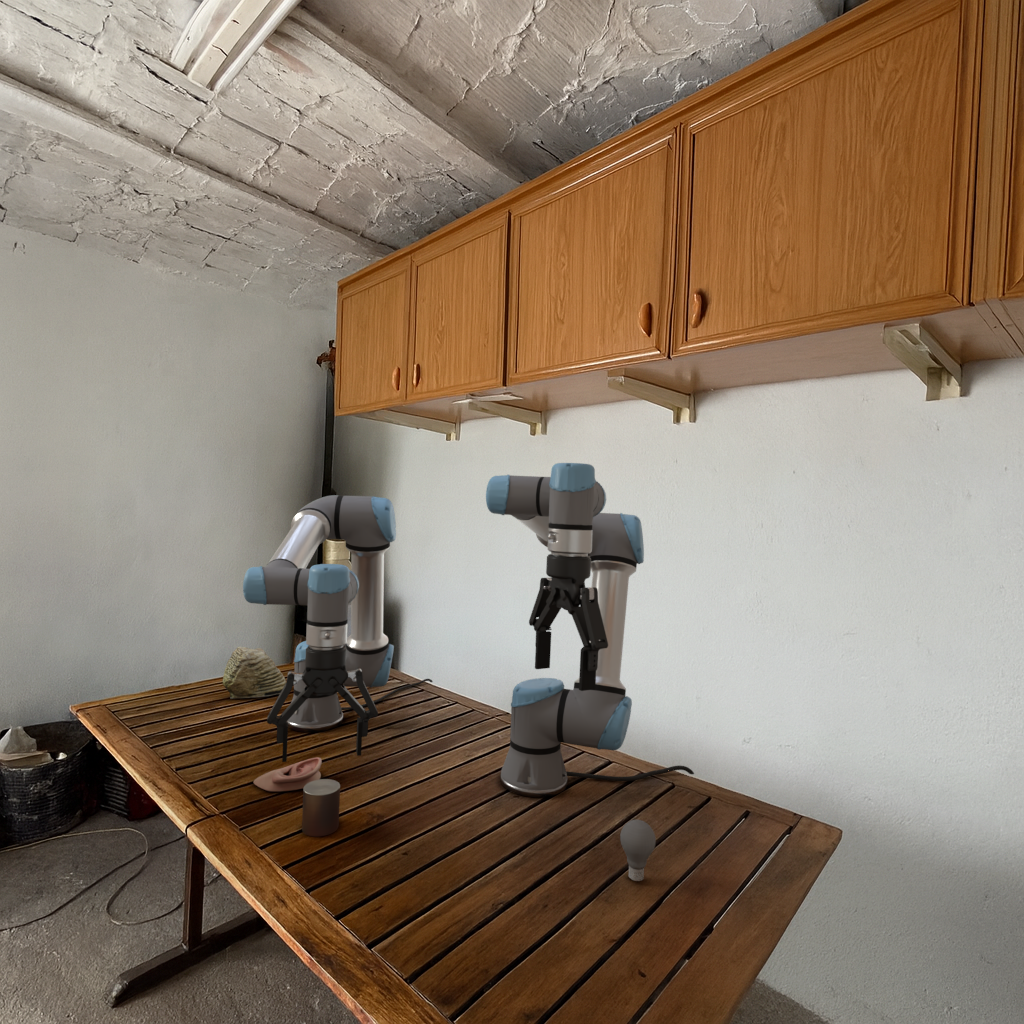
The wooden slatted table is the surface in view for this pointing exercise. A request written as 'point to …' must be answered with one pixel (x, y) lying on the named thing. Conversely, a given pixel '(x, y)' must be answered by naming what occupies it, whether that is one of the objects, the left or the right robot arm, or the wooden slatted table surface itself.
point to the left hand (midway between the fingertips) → (322, 756)
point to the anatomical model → (291, 776)
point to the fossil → (252, 674)
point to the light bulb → (637, 846)
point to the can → (320, 807)
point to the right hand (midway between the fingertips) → (563, 678)
